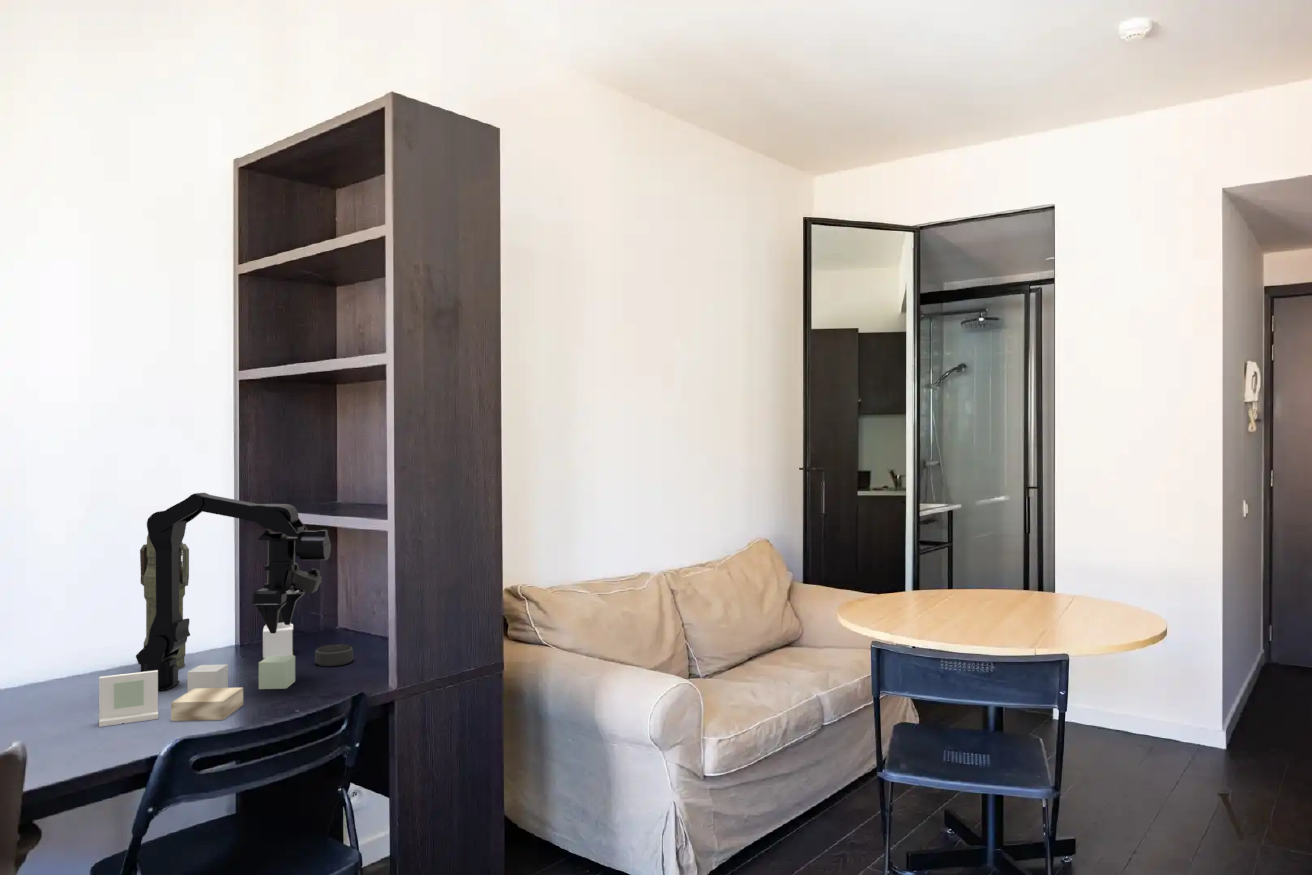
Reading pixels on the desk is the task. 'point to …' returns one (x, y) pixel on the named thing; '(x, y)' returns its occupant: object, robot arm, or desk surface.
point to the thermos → (150, 587)
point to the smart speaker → (334, 655)
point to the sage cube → (276, 672)
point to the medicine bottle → (278, 640)
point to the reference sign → (128, 698)
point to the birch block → (207, 704)
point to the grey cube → (208, 677)
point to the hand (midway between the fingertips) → (280, 628)
